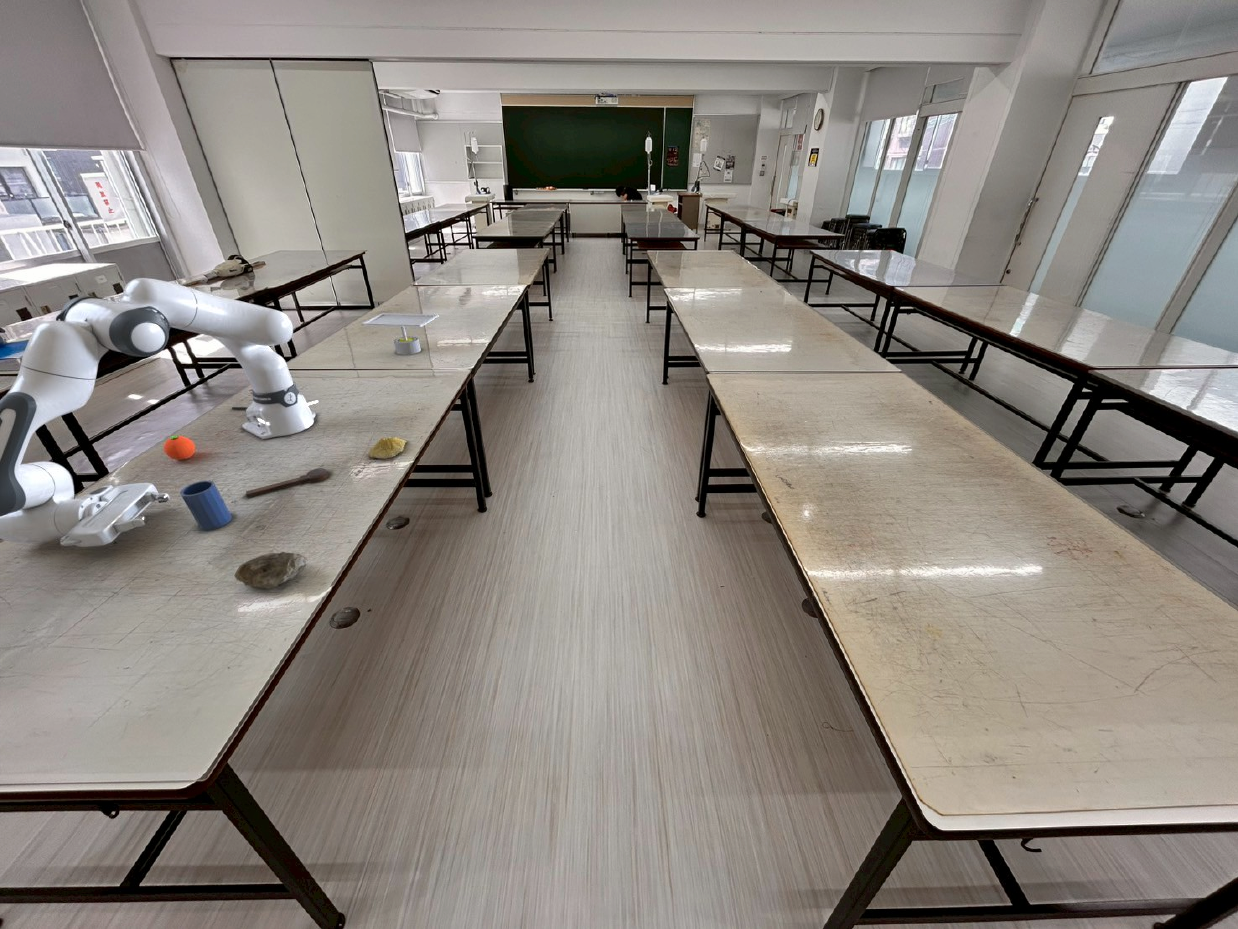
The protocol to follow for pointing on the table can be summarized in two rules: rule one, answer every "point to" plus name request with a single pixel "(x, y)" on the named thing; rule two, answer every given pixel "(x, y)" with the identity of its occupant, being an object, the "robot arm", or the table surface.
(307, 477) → the spoon
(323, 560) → the table surface
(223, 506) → the cup
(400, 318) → the solar panel model
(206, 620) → the table surface
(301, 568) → the stone
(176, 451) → the clementine
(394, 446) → the fossil
